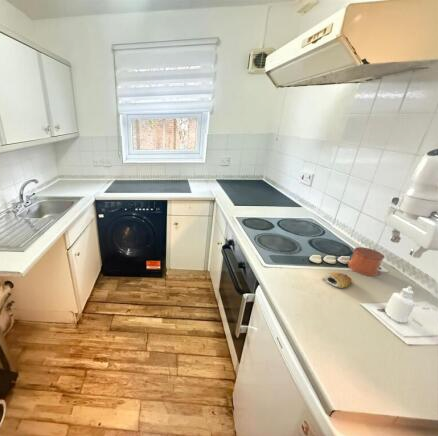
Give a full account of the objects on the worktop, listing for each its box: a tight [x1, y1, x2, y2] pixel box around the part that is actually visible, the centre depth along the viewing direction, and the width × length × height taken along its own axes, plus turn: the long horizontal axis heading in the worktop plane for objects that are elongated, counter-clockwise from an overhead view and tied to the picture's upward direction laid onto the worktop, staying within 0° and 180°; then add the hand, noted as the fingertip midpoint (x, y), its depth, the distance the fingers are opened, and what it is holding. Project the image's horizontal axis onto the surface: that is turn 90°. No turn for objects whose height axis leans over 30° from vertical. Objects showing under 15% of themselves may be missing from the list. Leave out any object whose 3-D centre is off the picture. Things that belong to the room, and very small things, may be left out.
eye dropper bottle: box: [384, 285, 416, 324], centre depth 75 cm, size 4×6×12 cm
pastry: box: [323, 272, 352, 289], centre depth 93 cm, size 9×7×4 cm
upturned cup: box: [347, 246, 385, 277], centre depth 100 cm, size 10×10×8 cm
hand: (403, 248), depth 73 cm, fingers open, 8 cm apart
